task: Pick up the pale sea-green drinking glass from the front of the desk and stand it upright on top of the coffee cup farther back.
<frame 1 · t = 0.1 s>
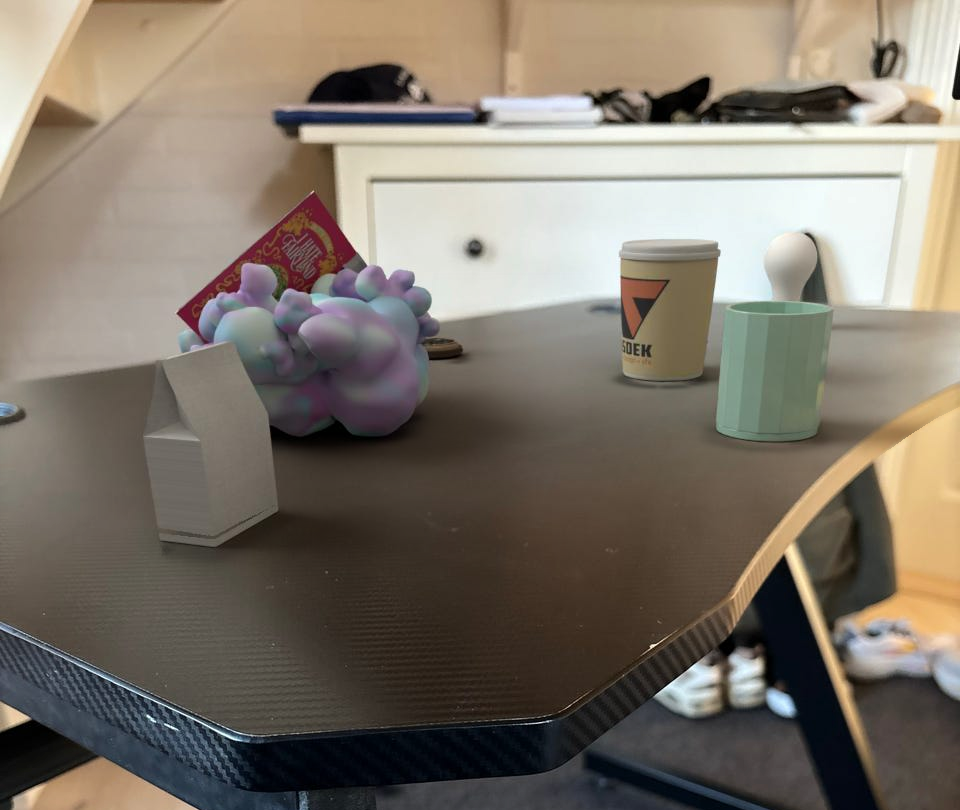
coffee cup: (662, 375, 99), on the table
glass: (765, 429, 77), on the table
lightbulb: (782, 330, 123), on the table
pastel lumpy blob: (310, 426, 82), on the table
milk carton: (221, 528, 59), on the table
compass: (429, 355, 112), on the table
game controller: (724, 354, 109), on the table
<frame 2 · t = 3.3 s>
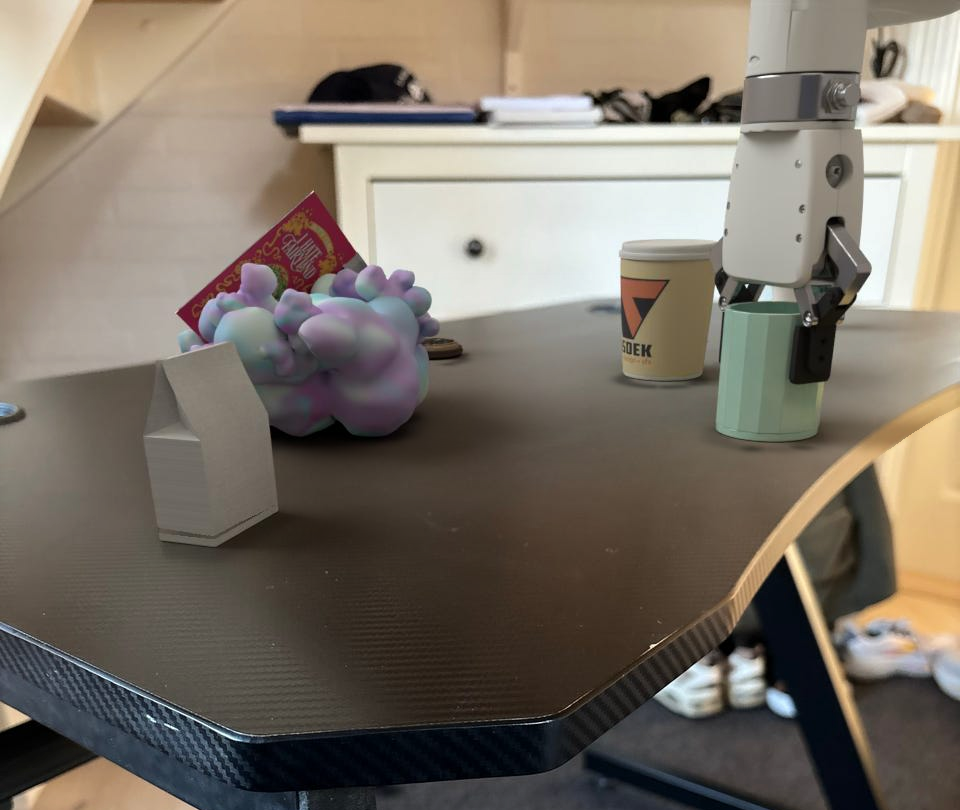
hand: (771, 371, 75), 4 cm above the table, tool pointing down, fingers closed on glass, 7 cm apart
glass: (765, 429, 77), on the table, touching gripper
everything else where it was.
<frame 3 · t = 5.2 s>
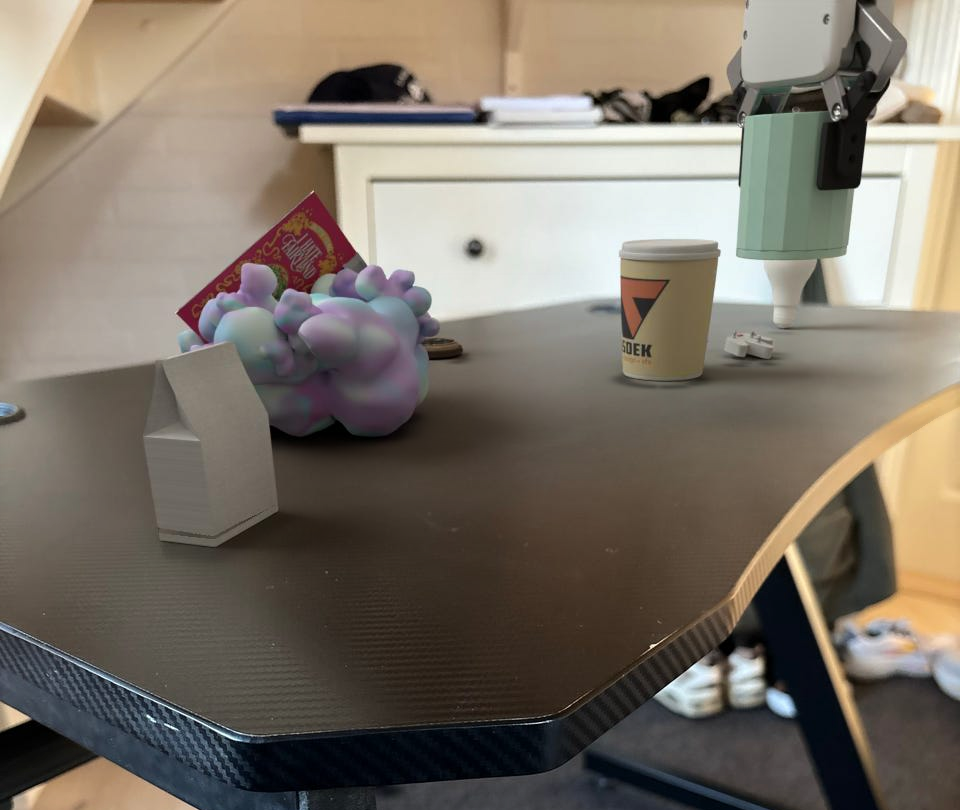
hand: (796, 187, 70), 17 cm above the table, tool pointing down, fingers closed on glass, 7 cm apart
glass: (790, 254, 72), point 13 cm above the table, touching gripper
everything else where it was.
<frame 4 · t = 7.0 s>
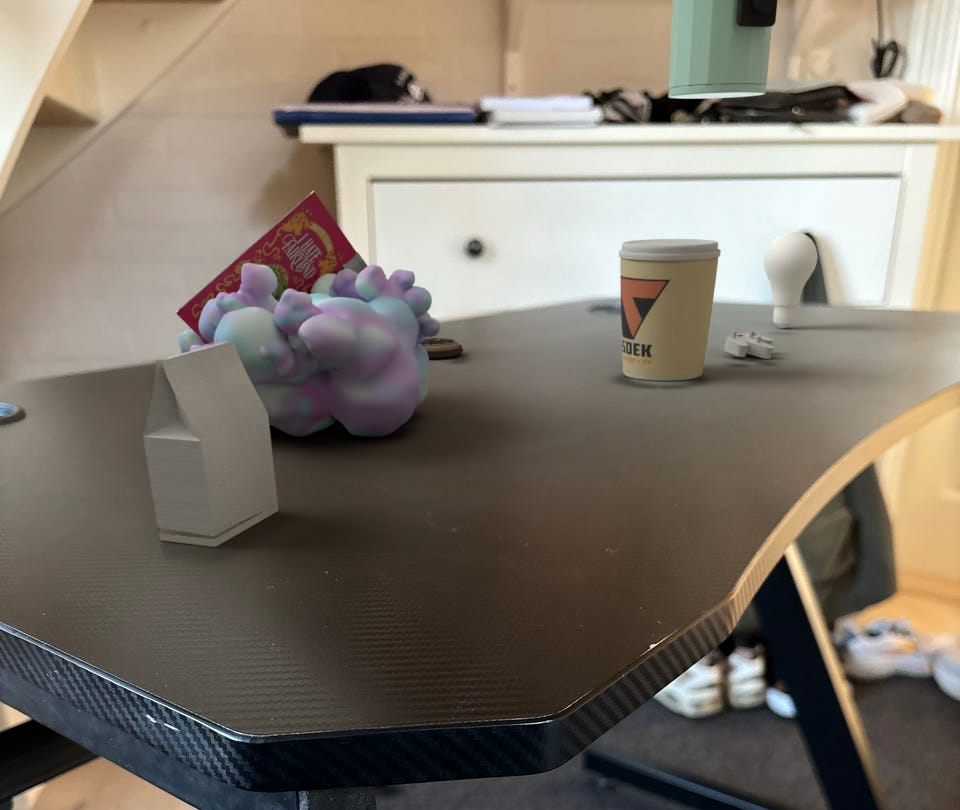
hand: (721, 31, 79), 28 cm above the table, tool pointing down, fingers closed on glass, 7 cm apart
glass: (716, 95, 81), point 23 cm above the table, touching gripper
everything else where it was.
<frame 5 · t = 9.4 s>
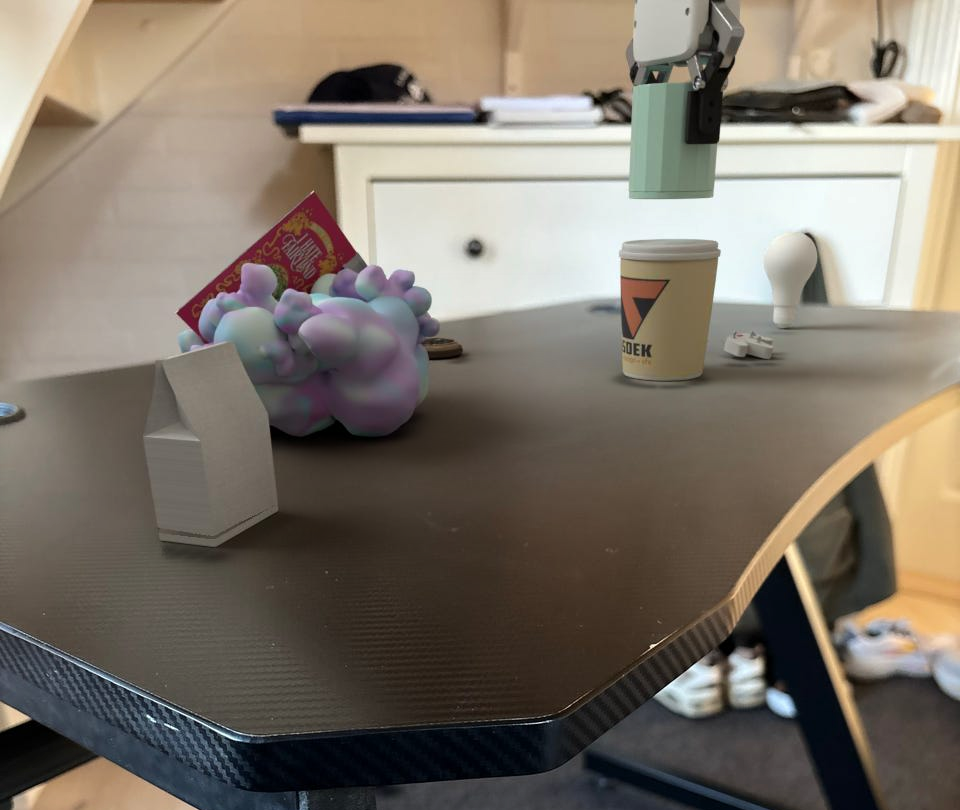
hand: (674, 143, 90), 20 cm above the table, tool pointing down, fingers closed on glass, 7 cm apart
glass: (670, 197, 92), point 16 cm above the table, touching gripper
everything else where it was.
when the fingers open (16 cm above the table, at t = 11.0 s): glass stays where it is, resting on coffee cup.
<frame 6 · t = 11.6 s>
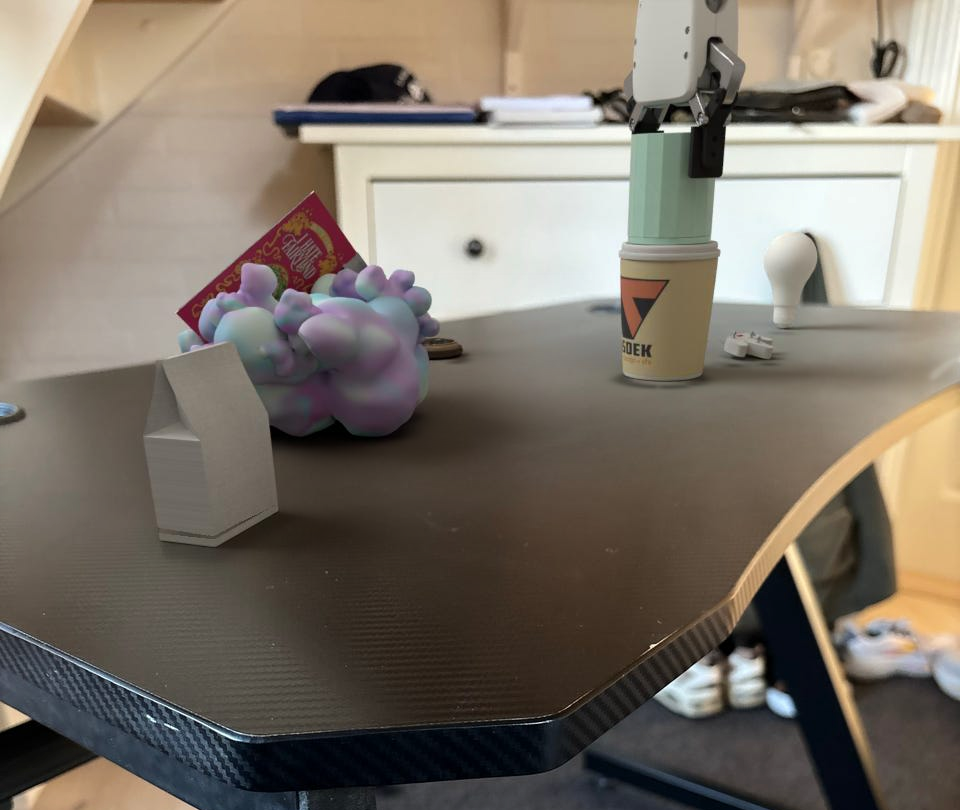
hand: (674, 177, 91), 17 cm above the table, tool pointing down, fingers open, 9 cm apart
coffee cup: (662, 375, 99), on the table, touching glass
glass: (668, 241, 93), point 12 cm above the table, touching coffee cup
everything else where it was.
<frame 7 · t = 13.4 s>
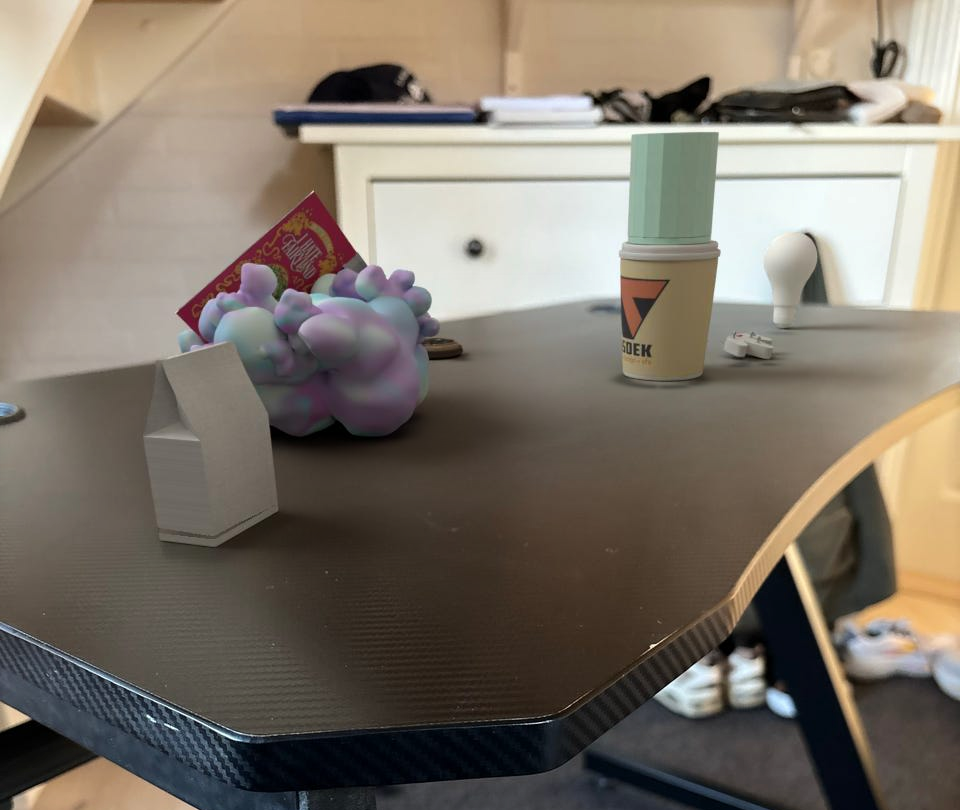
nothing on the table moved.
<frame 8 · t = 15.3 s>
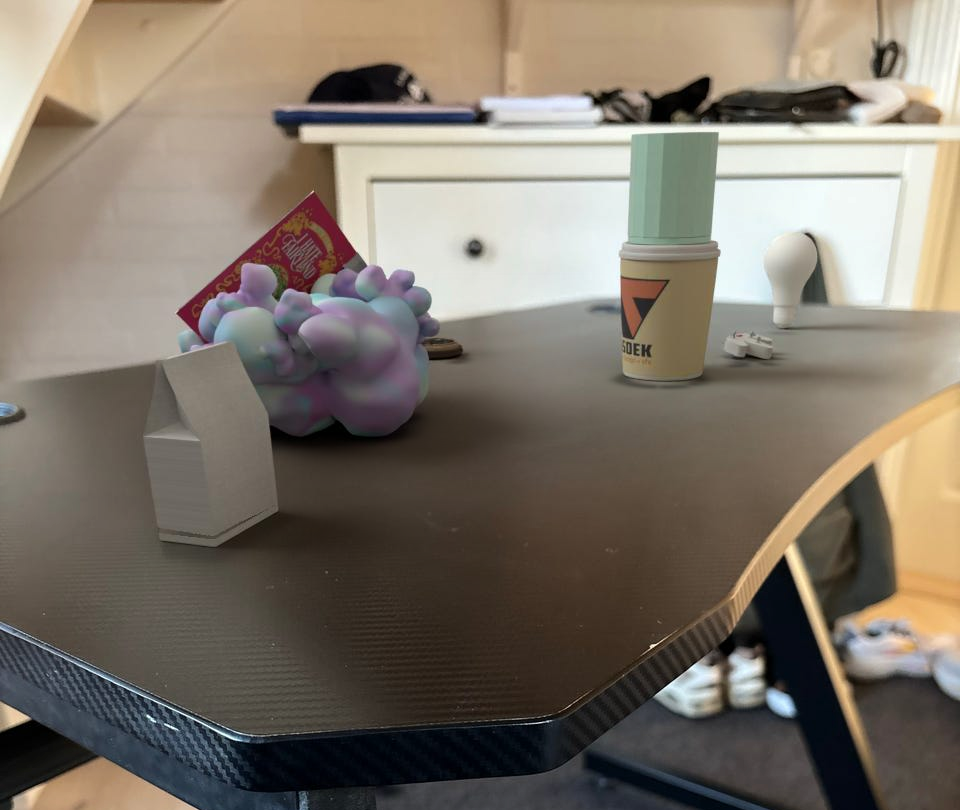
nothing on the table moved.
at the end: glass 0.1 cm off-centre on the coffee cup, point 12.2 cm above the coffee cup's base; glass tilted 0°; the gripper is holding nothing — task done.
